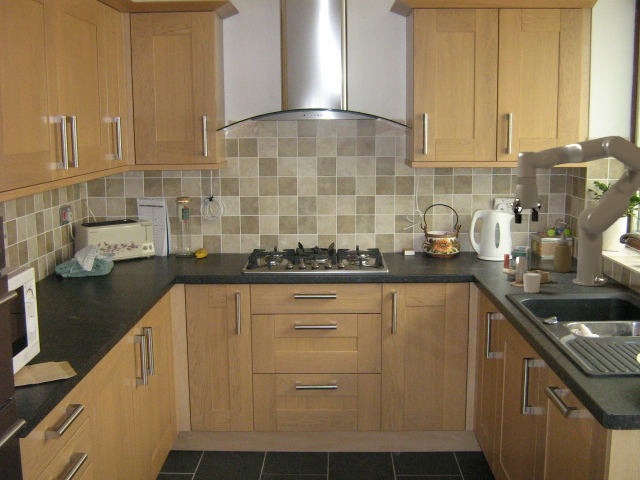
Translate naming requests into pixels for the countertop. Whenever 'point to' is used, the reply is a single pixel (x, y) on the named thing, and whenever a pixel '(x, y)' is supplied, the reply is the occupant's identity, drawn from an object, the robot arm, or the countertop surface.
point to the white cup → (531, 282)
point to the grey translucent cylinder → (520, 270)
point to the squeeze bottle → (562, 255)
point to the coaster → (516, 284)
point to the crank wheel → (507, 269)
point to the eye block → (542, 275)
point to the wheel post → (511, 277)
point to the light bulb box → (523, 255)
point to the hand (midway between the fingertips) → (526, 222)
